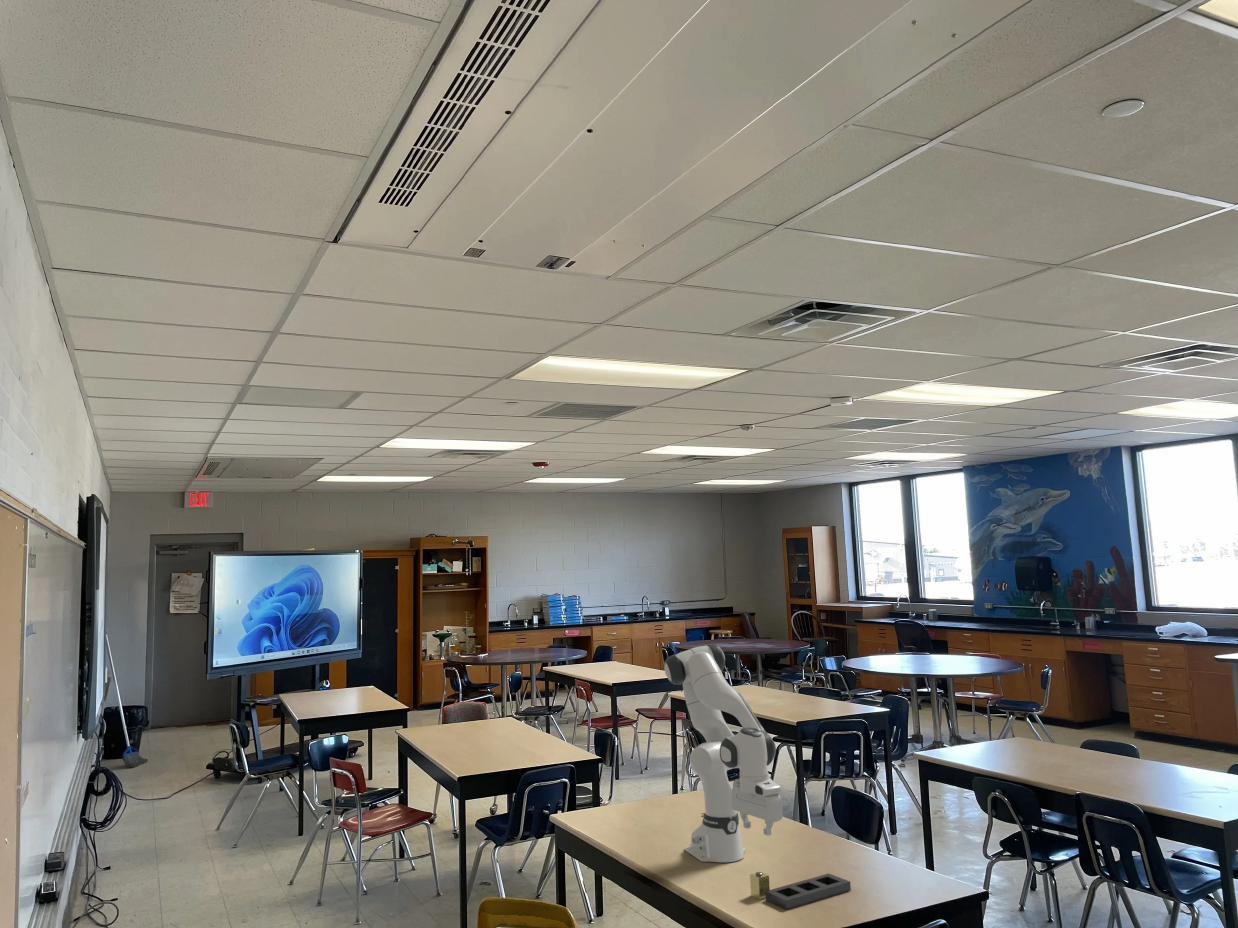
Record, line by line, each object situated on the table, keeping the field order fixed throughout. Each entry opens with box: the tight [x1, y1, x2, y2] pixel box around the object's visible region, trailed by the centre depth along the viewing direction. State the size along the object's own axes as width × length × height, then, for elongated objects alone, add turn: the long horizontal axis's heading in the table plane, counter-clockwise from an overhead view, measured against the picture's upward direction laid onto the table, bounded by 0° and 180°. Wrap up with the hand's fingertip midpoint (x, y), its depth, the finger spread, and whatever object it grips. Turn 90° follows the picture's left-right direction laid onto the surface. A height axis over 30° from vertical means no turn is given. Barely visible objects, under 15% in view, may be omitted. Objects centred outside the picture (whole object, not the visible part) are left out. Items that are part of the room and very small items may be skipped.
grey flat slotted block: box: [765, 873, 852, 911], centre depth 248 cm, size 9×26×2 cm, turn 121°
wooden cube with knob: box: [749, 871, 771, 900], centre depth 248 cm, size 4×4×6 cm
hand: (757, 831), depth 251 cm, fingers open, 8 cm apart
